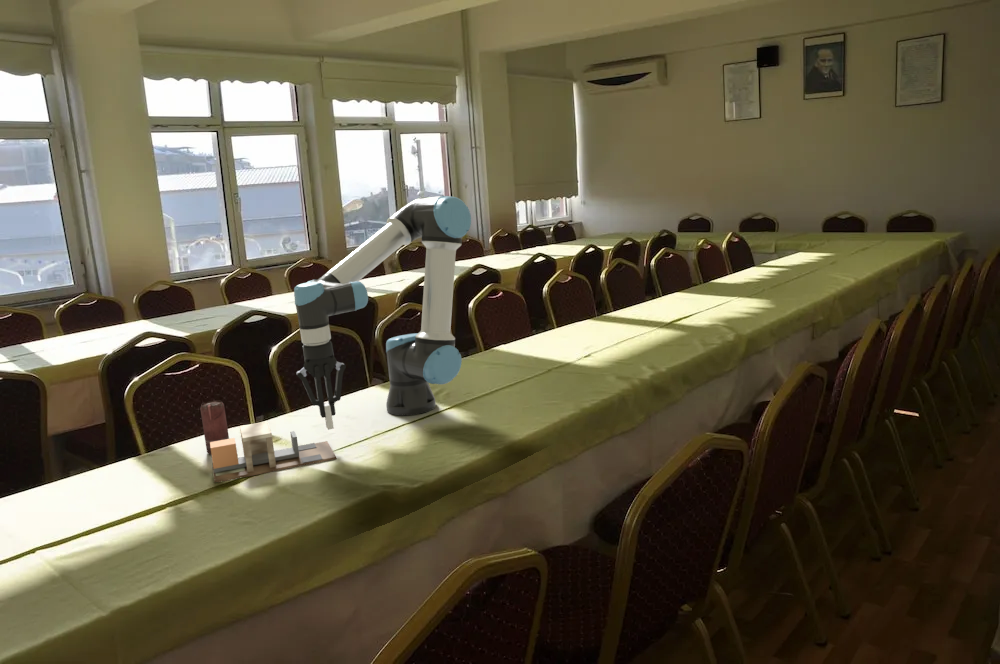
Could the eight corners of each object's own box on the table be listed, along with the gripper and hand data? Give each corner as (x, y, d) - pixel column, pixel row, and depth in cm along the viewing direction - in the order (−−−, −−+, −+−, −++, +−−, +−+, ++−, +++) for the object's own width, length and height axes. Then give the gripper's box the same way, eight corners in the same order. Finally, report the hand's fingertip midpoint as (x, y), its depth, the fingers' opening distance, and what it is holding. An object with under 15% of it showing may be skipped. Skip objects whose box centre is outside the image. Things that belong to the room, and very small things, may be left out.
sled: (296, 450, 208) (293, 427, 207) (299, 456, 203) (296, 432, 202) (213, 466, 201) (209, 442, 199) (214, 472, 196) (210, 448, 195)
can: (206, 457, 211) (198, 407, 208) (208, 449, 217) (200, 401, 214) (229, 453, 212) (222, 404, 210) (231, 446, 218) (224, 398, 216)
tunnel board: (327, 443, 215) (323, 409, 213) (336, 459, 203) (332, 423, 201) (212, 464, 205) (207, 430, 203) (214, 483, 192) (208, 446, 190)
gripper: (339, 335, 208) (351, 418, 214) (289, 343, 204) (303, 428, 209) (344, 340, 202) (357, 426, 207) (293, 349, 197) (307, 437, 202)
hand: (330, 427), depth 208 cm, fingers closed
